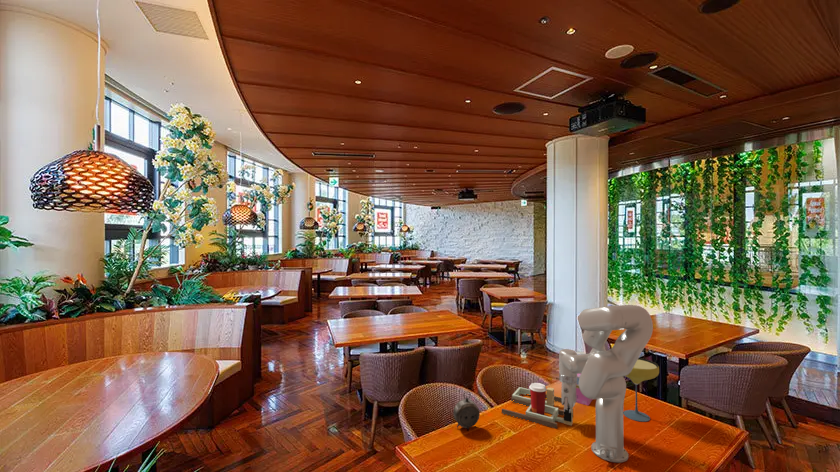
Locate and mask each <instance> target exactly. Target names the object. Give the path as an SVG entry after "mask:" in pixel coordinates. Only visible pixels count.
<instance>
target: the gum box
mask: <svg viewBox="0 0 840 472" xmlns="http://www.w3.org/2000/svg"><path fill="white" fill-rule="evenodd" d="M580 375H581V374H577V384H576V398H577V400H576V403H577V404H581V405H583V406H584V405H586V406H589V405H590V404H591V402H593V400H594V399H589V398H587V397H585V396H584V395H583V394H582V393H581V391H580V388H579V378H580Z"/></svg>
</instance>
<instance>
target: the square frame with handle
mask: <svg viewBox="0 0 840 472" xmlns="http://www.w3.org/2000/svg"><path fill="white" fill-rule="evenodd" d="M546 389H547V390H546V398H547V399H546V400H545V405H548V406H552V407H555V406H554V405H555V401H554V396H555V388H554V387H547V388H546ZM526 394H529V395H531V394H530V388H525V387H522V386H521V387H520V386H519V387H518V388H517V389H516V390H515V391H514V392H513V393H512V395H511V398H515V399H519V400H523V401H527V402H531V397H526V396H527V395H526ZM521 395H525V397H524V396H521Z"/></svg>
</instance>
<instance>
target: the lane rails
mask: <svg viewBox="0 0 840 472" xmlns="http://www.w3.org/2000/svg"><path fill="white" fill-rule="evenodd" d="M513 400H514V401H513ZM554 400H555V401H554V402H557V401H558V403H562V401H561V396H560V397H559V396H555V395H554ZM511 401H513V402H515V403H519V404H523V405H526V406H525V407H527V406H530V405H531V402H527V401H523V400H519V399H515V398H512V397H511V399H510V402H511ZM515 403H514V404H515ZM519 404H518V405H519ZM523 405H522V406H523ZM502 413H503V414H502ZM501 414H502V415H505V414H507V415H506V416H508V415H511V416H510V417H512V416H514V417H513V418H516V417H518V418H517V419H519V418H521V419H520V420H523V419H525V420H524V421H527V420H529V421H528V422H530V421H532V422H531V423H534V422H535V423H534V424H537V423H539V424H538V425H541V424H542V425H541V426H546V427H549V428H553V429H558V423H557V422H556V421H555V422H551V421H547V420H543V419H540V418H536V417H532V416H528V415H526V413H525V414H524V413H520V412H518V411H517V412H516V411H513V410H510V409H506V408H501ZM558 416H564V409H559V408H558Z"/></svg>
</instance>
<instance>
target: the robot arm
mask: <svg viewBox="0 0 840 472" xmlns="http://www.w3.org/2000/svg"><path fill="white" fill-rule="evenodd" d="M578 324H579V326H580V329H582V330H583V333H582V339H583V342H584V343H585V344H586V345H587V346H588V347H591V350H590V352H589V353H585V354H583V353H581V354H578V353H577V352H576V350H573V349H569V348H564V349H560V350H559V355H558V357H559V358H558V363H559V365H558V367H559V368H558V369H559V370H558V371H559V372H558V375H559V377H558V378H559V379H558V380H559V382H560V383H561V391H560V392H561V396H560V398H561V401H562V402H561V406H563V410H564V415H563V418H564V420H565V421H569V422H571V421H572V413H571V407H572V408H575V405H576V403H577V402H576V400H577V398H576V384H577V374H581V375H580V378H579V388H580V391H581V393H582V394H583V395H584V396H585V397H587V398H589V399H593V400H595V441H594V442H592V444H591V447H590V448H591V451H592V452H593V454H595V455H596V456H597V457H598V458H600V459H601V460H604V461H608V462H611V463H624V462H627V461H628V459H629V453H628V451H627V450H626V449H625V448H624V447H625V445H624V414H623V412H624V402H625V396H626V391H627V383H626V380H625V377H626V375H628V374H629V373H630V372H631V371H632V369H633V367H634V365H635V363H636V362H637V360H638V358H640V357H641V354H642V353H643V351H644V349H645V347H646V346H647V345H648V343H649V341H650V339H651V338H652V335H653V331H654V327H653V326H654V325H653V324H654V323H653V319H652V316H651V315H650V313H649V312H648V310H647V309H645V308H644V307H643V306H640V305H636V304H635V305H634V304H624V305H608V306H607V305H606V306H599V307H593V308H586V309H583V310H582V311H581V312H580V313H579V316H578ZM620 330H624V331H623V332H621V334H620V335H618V337H617V338H616V340H615V341H614V344H613V346H612V347H611V348H610V349H608V350H606V346H605V344H606V342H607V340H608V338H609V337H610V335H611V333H612V332H613V331H620ZM568 404H569V405H568ZM568 407H569V408H568Z"/></svg>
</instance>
